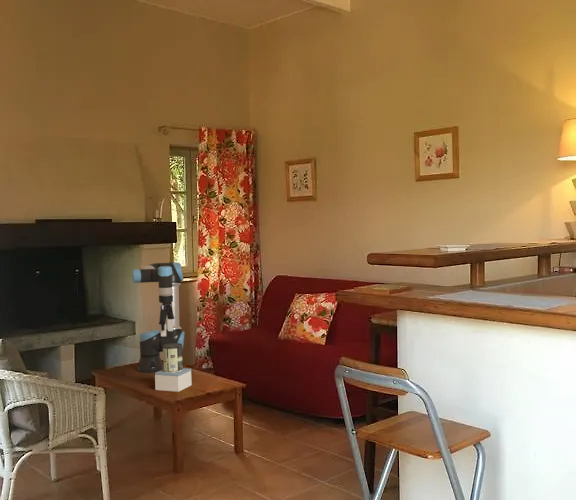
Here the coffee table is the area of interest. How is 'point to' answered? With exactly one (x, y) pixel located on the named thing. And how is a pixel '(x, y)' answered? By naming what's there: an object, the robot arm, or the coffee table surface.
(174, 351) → the coffee can
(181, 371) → the lid
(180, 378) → the box
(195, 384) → the coffee table surface
